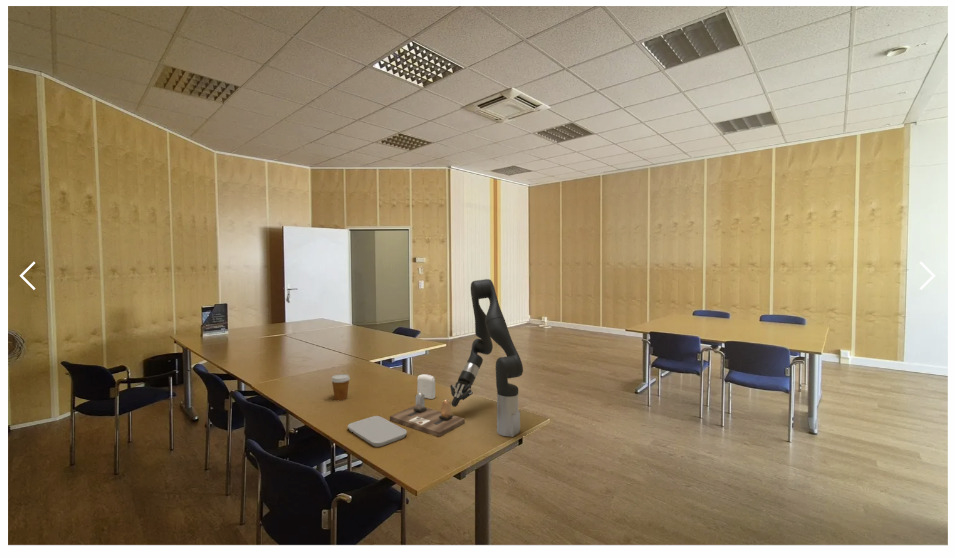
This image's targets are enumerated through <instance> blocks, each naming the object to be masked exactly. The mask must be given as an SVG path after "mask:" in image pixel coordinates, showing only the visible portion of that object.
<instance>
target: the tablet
mask: <svg viewBox="0 0 955 558" xmlns="http://www.w3.org/2000/svg"><path fill="white" fill-rule="evenodd" d="M347 429H349V432H351V433H352V432H353V433H352V434H354V435H355V436H357V437H359V438H360V439H362V440H363V441H364V442H366V443H368V444H369V445H371V446H373V447H376V448H378V447H383V446H386V445H388V444H391V443H394V442H397V441H399V440H402V439H405V437H406V435H407V434H408V431H407V430H406V429H404V428H403V427H401V426H399V425H397V424H396V423H395V422H393V421H390V420H387V419H386V418H384V417H382V416H380V415H373V416H370V417H367V418H363V419H360V420H357V421H354V422H351V423H348V425H347Z"/></svg>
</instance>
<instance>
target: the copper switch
mask: <svg viewBox="0 0 955 558" xmlns="http://www.w3.org/2000/svg"><path fill="white" fill-rule="evenodd" d="M451 402H452V401H451V400H450V401H449V399H448V398H445V399H443V401H441V408H440V412H441V415H440V416H439V418H440V419H443V420H449V419H450V418H452V417H453V414H451V406H452V404H451Z"/></svg>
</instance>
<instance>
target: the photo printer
mask: <svg viewBox="0 0 955 558" xmlns="http://www.w3.org/2000/svg"><path fill="white" fill-rule="evenodd" d="M416 380H417V381H416V385H417V386H416V387H417V388H416V390H417V391H416V392H417V394H418V393H419V392H422V393H423V394H424V395H425V399H430V400H433V399H436V378H435V377H434V376H433V375H430V374H426V373H425V374H423V373H422V374H420V375H418V376H417V379H416Z"/></svg>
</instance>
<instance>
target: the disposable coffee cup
mask: <svg viewBox="0 0 955 558" xmlns="http://www.w3.org/2000/svg"><path fill="white" fill-rule="evenodd" d="M350 380H351V377H350V375H349V374H345V373H340V374H334V375H332V376H331V379H330V381H331V384H332V388H333V389H332V390H333V396H334V400H335V401H344V399H345V400H347V399H348V393H349V383H350ZM346 398H347V399H346Z"/></svg>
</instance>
